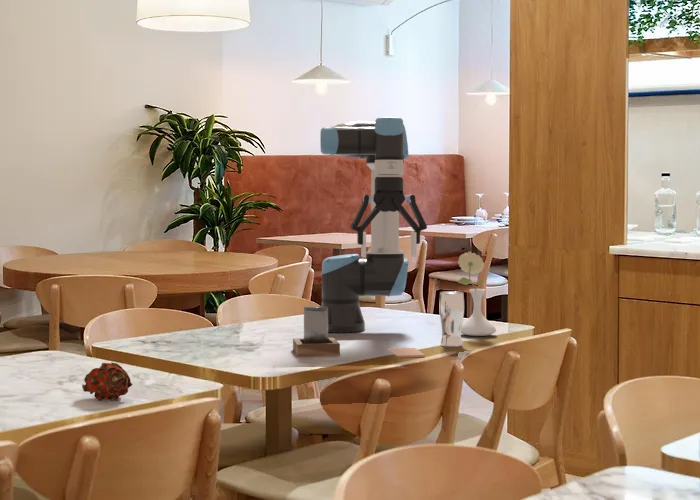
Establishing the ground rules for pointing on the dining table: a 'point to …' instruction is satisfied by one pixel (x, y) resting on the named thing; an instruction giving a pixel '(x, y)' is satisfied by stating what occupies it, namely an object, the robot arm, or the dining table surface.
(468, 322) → the flower in vase
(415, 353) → the pad
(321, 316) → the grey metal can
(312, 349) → the socket block
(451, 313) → the beer glass
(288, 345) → the dining table surface
